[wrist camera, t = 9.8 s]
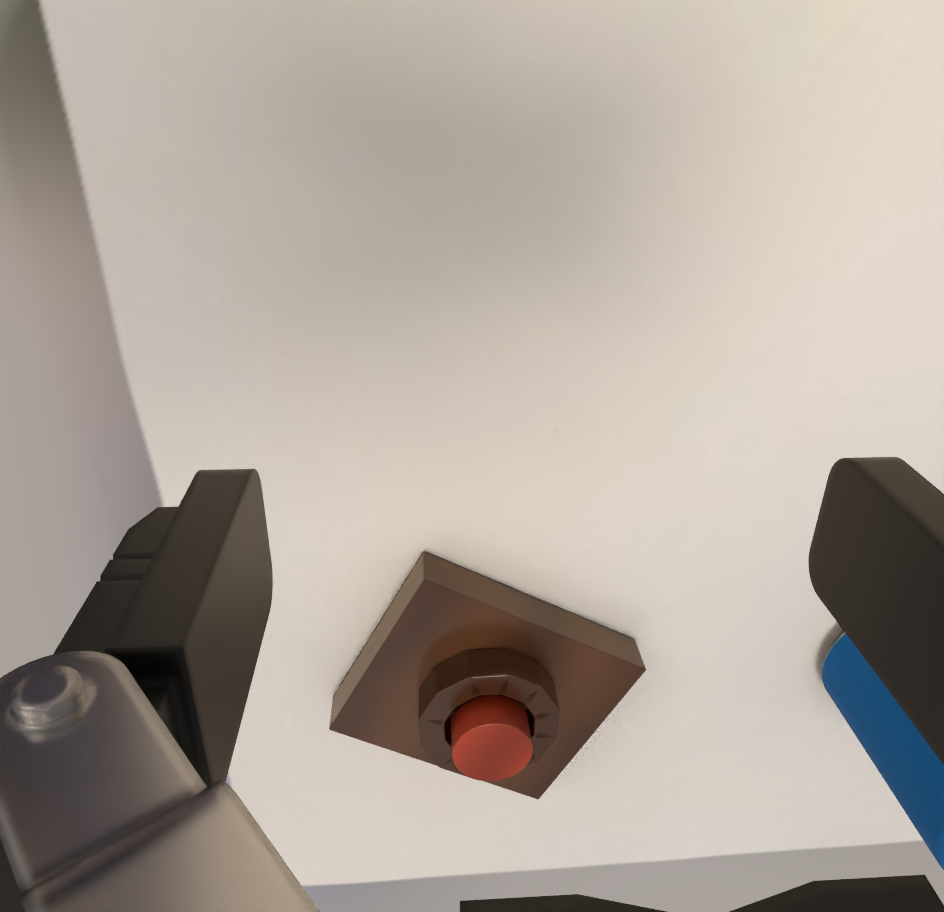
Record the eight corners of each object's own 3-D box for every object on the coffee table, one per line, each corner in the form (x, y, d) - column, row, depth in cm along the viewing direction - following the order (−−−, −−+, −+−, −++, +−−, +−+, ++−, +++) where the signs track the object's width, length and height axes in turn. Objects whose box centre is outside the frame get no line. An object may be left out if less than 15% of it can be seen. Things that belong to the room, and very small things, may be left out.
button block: (332, 696, 40) (324, 760, 36) (423, 550, 36) (424, 605, 32) (533, 766, 43) (543, 830, 39) (635, 639, 39) (657, 697, 36)
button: (436, 736, 36) (437, 767, 35) (474, 684, 35) (477, 713, 33) (503, 759, 37) (506, 790, 36) (542, 709, 36) (547, 739, 34)
